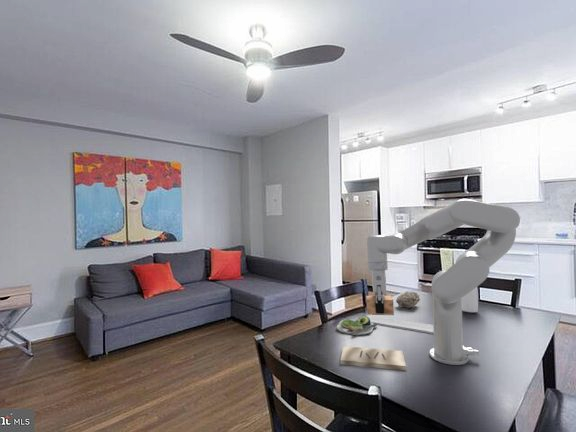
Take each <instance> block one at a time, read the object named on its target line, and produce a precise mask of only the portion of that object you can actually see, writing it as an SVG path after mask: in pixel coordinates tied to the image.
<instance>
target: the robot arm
mask: <svg viewBox="0 0 576 432" xmlns="http://www.w3.org/2000/svg"><path fill="white" fill-rule="evenodd" d="M520 223H521V217H520V214H519V212H517V210H515V209H513V208H511V207H509V206H505V205H500V204H499V205H498V204H494V203H487V202H481V201H477V200H474V199H468V198H462V199H458V200H456V201H454V202H452V203H451V204H448V205H445V206H444V207H442V208H441V209H440V208H439V210H436V211H434V212H433V213H431V214H429V215H426V216H425V217H423V218H421V219H420V220H419V221H417V222H415V223H414V224H412V225H410V226H408V227H407V228H404V229H402V230H400V231H398V232H395V233H394V234H392V235H391V234H390V235H383V234H373V235H372V234H371V235H368V236H367V238H366V246H367V248H366V249H367V269H368V271H370V272H371V284H372V286H371V287H372V291H373V296H376V303H375V307H376V313H384V303H383V296H388V295H387V280H386V279H387V277H386V275H387V274H386V271H388V270H389V269H388V254H390V255H400V254H402V253H404V252H405V251H406V250H408V249H409V248H411V247H413V246H415V245H418V244H420V243H423V242H425V241H427V240H432V239H436V238H439V237H441V236H443V235H445V234H447V233H449V232H451V231H453V230H455V229H458V228H460V227H461V226H464V225H465V226H470V227H473V228H479V229H482V230H486V233H485V234H484V235H483V237H481V238H480V239H479V240H478V241H477V242H476V243H475V244H473V245H472V246H471V247H469V248H468V249H467V250H466V251H464V252H463V253H462V254H460V255H459V256H458V257H457V258H456V260H455V263H454V264H452V265H451V267H449V268H447V270H440V271H438V272H436V274H434V276H432V280H431V288H430V289H431V292H432V321H433V322H432V325H433V332H434V334H433V348H431V349H429V356H430V357H431V358H432V359H433V360H434V361H437V362H439V363H441V364H446V365H451V366H461V365H466V364H467V363H468V362H469V356H475V357H479V355H480V354H479V350H477V349H473V348H472V347H465V346H464V340H463V338H464V337H463V336H464V335H463V311H462V299H461V298H463V297H464V296H465V295H467V294H468V293H469V292H471V291H472V290H473V289H475V288H476V287H477V288H478V287H479V286H480V285H482V283H484V282H485V281H486V280H487V278H488V276H489V274H490V268H491V267H492V266H493V265H494V264H496V263H497V262H498V261H499V260H500V259H502V257H504V256H505V255H506V254H507V253H508V252H510V249H512V247H513V245H514V243H515V240H516V238H517V237H516V236H517V234H516V233H517V229H518V227H519V226H520Z"/></svg>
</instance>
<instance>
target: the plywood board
mask: <svg viewBox="0 0 576 432" xmlns="http://www.w3.org/2000/svg"><path fill="white" fill-rule="evenodd" d="M340 356H341V357H340V365H346V366H356V367H366V368H377V369H386V370H387V369H388V370H398V371H400V370H401V371H407V364H406V361H405V356H404V352H403V350H396V349H385V348H384V349H383V348H372V347H371V348H370V347H359V346H358V347H356V346H345V345H343V347H342V352H341V355H340Z"/></svg>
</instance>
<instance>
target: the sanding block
mask: <svg viewBox="0 0 576 432" xmlns="http://www.w3.org/2000/svg"><path fill="white" fill-rule="evenodd" d="M365 299H366V301H365V302H366V314H367V316H368V315H369V316H394V315H395V314H394V313H395V310H394V309H395V306H394V299H393V297H392V295H386V296H385V295H383V303H384V313H376V307H375V303H376V295H366V296H365Z"/></svg>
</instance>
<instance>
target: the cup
mask: <svg viewBox="0 0 576 432" xmlns="http://www.w3.org/2000/svg"><path fill="white" fill-rule="evenodd" d="M478 291H479V290H478V286H477V287H476V288H475V289H473V290H472V291H471V292H469V293H468V294H467V295H465V296H464V297H463V298H461V299H462V312H467V313H477V312H478V311H479V293H478Z"/></svg>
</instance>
